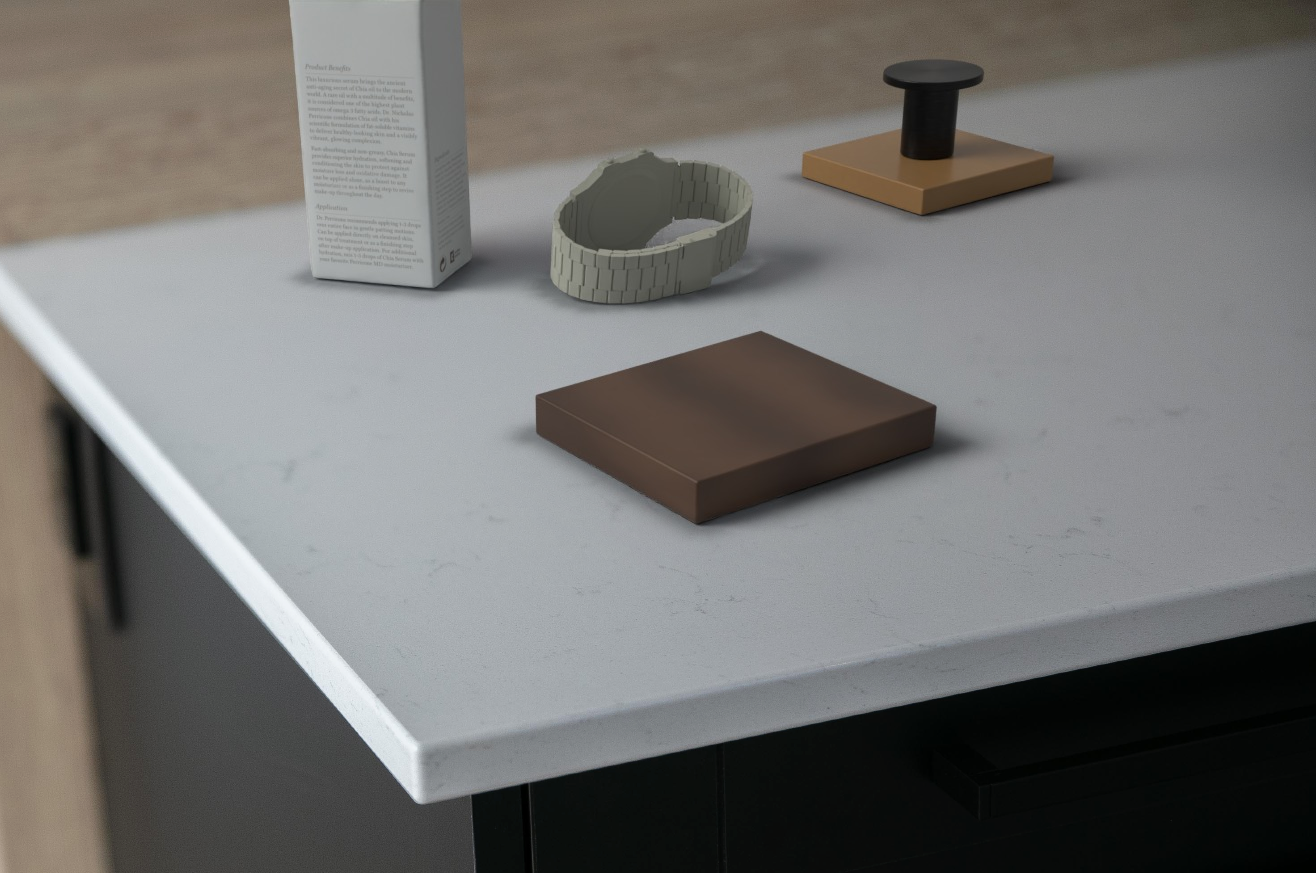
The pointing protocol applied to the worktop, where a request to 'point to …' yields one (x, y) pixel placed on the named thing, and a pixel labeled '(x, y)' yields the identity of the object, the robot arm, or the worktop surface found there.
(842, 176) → the stand
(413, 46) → the cosmetic box
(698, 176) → the wristwatch
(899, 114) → the worktop surface
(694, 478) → the shelf board
